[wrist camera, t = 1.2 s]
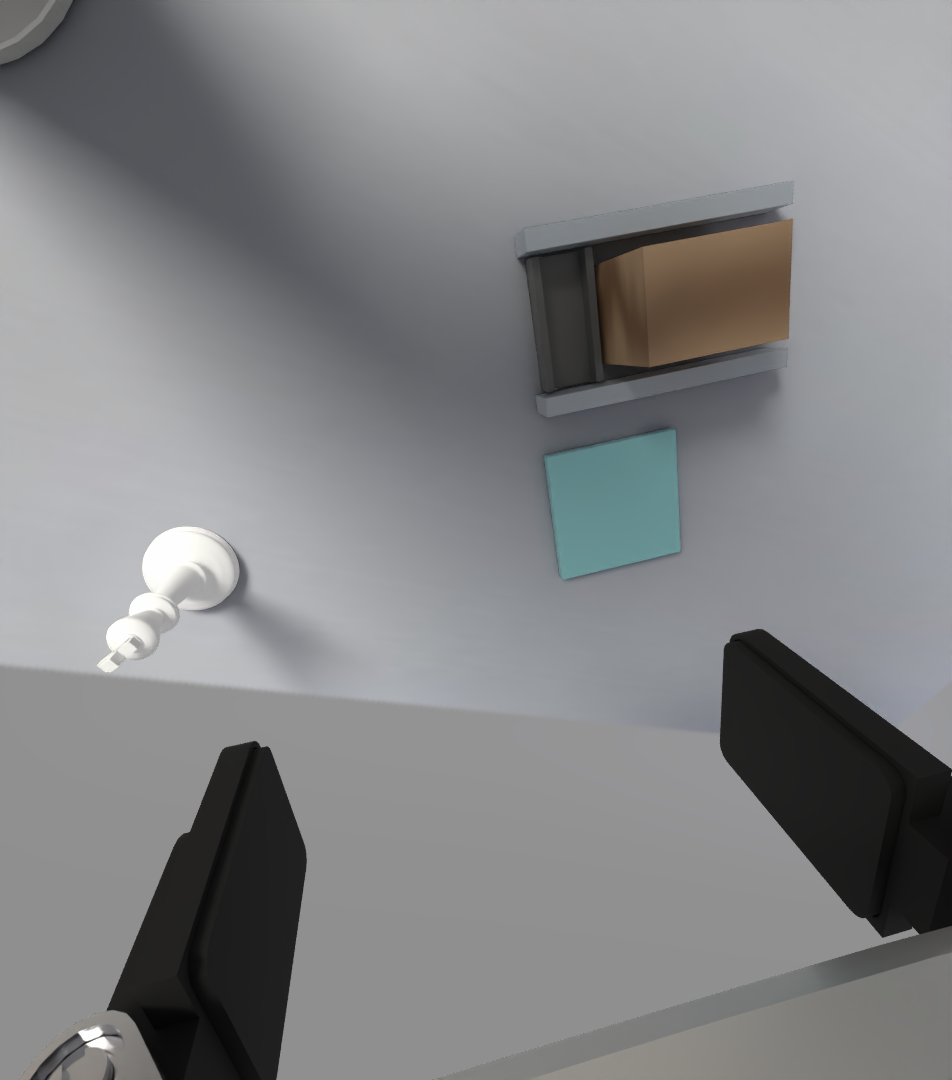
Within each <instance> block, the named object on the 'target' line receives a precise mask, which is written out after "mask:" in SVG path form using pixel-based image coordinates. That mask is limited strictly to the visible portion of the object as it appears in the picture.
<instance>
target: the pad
mask: <svg viewBox="0 0 952 1080" xmlns="http://www.w3.org/2000/svg"><path fill="white" fill-rule="evenodd" d="M544 463H545V470H546V478H547V485H548V493H549V500H550V508H551V515H552V522H553V530H554V537H555V545H556V552H557V560H558V567H559V575H560V577H561V579H562V580H565V579H569V578H573V577H577V576H581V575H585V574H590V573H594V572H598V571H602V570H606V569H610V568H614V567H619V566H623V565H627V564H631V563H635V562H639V561H643V560H647V559H652V558H656V557H660V556H664V555H668V554H672V553H676V552H680V551H681V549H680V524H679V498H678V473H677V448H676V429H673V428H667V429H663V430H658V431H654V432H649V433H645V434H640V435H636V436H631V437H626V438H622V439H617V440H613V441H608V442H604V443H599V444H594V445H590V446H585V447H581V448H576V449H572V450H567V451H563V452H558V453H553V454H549V455H544Z"/></svg>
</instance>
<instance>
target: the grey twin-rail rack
mask: <svg viewBox="0 0 952 1080" xmlns="http://www.w3.org/2000/svg"><path fill="white" fill-rule="evenodd" d="M793 186H794V181H788V182H782V183H777V184H771V185H765V186H760V187H754V188H749V189H743V190H737V191H732V192H726V193H720V194H715V195H709V196H704V197H698V198H692V199H687V200H681V201H675V202H670V203H664V204H659V205H653V206H647V207H642V208H636V209H631V210H625V211H619V212H614V213H608V214H602V215H597V216H591V217H586V218H580V219H574V220H569V221H563V222H557V223H552V224H546V225H541V226H535V227H529V228H524V229H523V230H521V231H520V232H519V233H518V234H517V235H515V236H514V240H515V247H516V254H517V258H521V257H527V256H532V255H538V254H543V253H549V252H554V251H560V250H565V249H570V248H576V247H581V246H587V245H592V244H598V243H603V242H609V241H614V240H620V239H625V238H631V237H636V236H641V235H647V234H652V233H658V232H663V231H669V230H674V229H680V228H685V227H691V226H696V225H702V224H707V223H713V222H718V221H723V220H729V219H734V218H740V217H745V216H751V215H756V214H762V213H767V212H770V211H773V210H775V209H778V208H781V207H784V206H787V205H790V204H793ZM525 265H526V273H527V280H528V288H529V296H530V304H531V311H532V319H533V327H534V334H535V342H536V350H537V358H538V365H539V373H540V381H541V388H542V391H545V392H550V393H545V394H540V395H535V396H536V403H537V411H538V413H539V414H541V415H543V416H545V417H553V416H558V415H562V414H567V413H572V412H577V411H581V410H586V409H591V408H595V407H600V406H605V405H610V404H614V403H619V402H624V401H628V400H633V399H638V398H642V397H647V396H652V395H657V394H661V393H666V392H671V391H675V390H680V389H685V388H689V387H694V386H699V385H704V384H708V383H713V382H718V381H722V380H727V379H732V378H737V377H741V376H746V375H751V374H755V373H760V372H765V371H769V370H774V369H779V368H784V367H787V351H788V348H761V349H756V350H752V351H747V352H742V353H737V354H732V355H728V356H723V357H718V358H713V359H708V360H704V361H699V362H694V363H689V364H684V365H680V366H675V367H670V368H665V369H660V370H656V371H651V372H646V373H641V374H636V375H632V376H627V377H622V378H617V379H612V380H608V381H604V378H603V366H602V355H601V343H600V332H599V320H598V308H597V297H596V285H595V274H594V262H593V251H592V247H586V248H583V249H581V250H579V251H574V252H569V253H564V254H558V255H553V256H547V257H542V258H539V256H537V257H532V258H530V259H528V260H526V261H525ZM589 381H594V382H598V383H593V384H588V385H583V386H579V387H574V388H569V389H564V390H559V391H555V388H560V387H565V386H569V385H574V384H579V383H584V382H589ZM599 381H603V382H599ZM551 391H555V392H551Z"/></svg>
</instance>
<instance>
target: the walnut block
mask: <svg viewBox="0 0 952 1080" xmlns="http://www.w3.org/2000/svg"><path fill="white" fill-rule="evenodd" d="M792 225H793V219H789V220H784V221H779V222H773V223H768V224H762V225H757V226H752V227H746V228H741V229H735V230H730V231H725V232H719V233H714V234H708V235H703V236H698V237H692V238H687V239H681V240H676V241H671V242H665V243H660V244H654V245H649V246H644V247H641V248H638V249H635V250H633V251H630V252H628V253H625V254H622V255H620V256H617V257H614V258H612V259H609V260H607V261H604V262H601V263H599V264H596V265H594V274H595V285H596V297H597V308H598V320H599V332H600V343H601V355H602V364H615V365H627V366H640V367H653V366H658V365H663V364H668V363H673V362H677V361H682V360H687V359H692V358H697V357H702V356H706V355H711V354H716V353H721V352H726V351H730V350H735V349H740V348H745V347H750V346H755V345H759V344H764V343H769V342H774V341H779V340H784V339H788V334H789V307H790V280H791V253H792Z"/></svg>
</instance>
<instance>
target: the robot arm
mask: <svg viewBox="0 0 952 1080" xmlns="http://www.w3.org/2000/svg"><path fill="white" fill-rule="evenodd" d="M72 2H73V0H0V65H1V64H4V63H7V62H10V61H13V60H16V59H19V58H21V57H22V56H24V55H25V54H27V53H28V52H30V51H31V50H33V49H34V48H36V47H37V46H39V45H40V44H42V43H43V42H44V41H45V40H46V39H47V38H48V37H49V35H50V34H51V33H52V32H53V31H54V30H55V29H56V28H57V26H58V25H59V24H60V23H61V22H62V21H63V19H64V17H65V15H66V13H67V11H68V9H69V7H70V6H71V4H72ZM720 747H721V751H722V753H723V756H724V758H725V759H726V761H727V762H728V763H729V765H730V766H731V767H732V768H733V769H734V770H735V772H736V773H737V774H738V775H739V776H740V777H741V779H742V780H743V781H744V783H745V784H746V785H747V786H748V787H749V789H750V790H751V791H752V792H753V793H754V795H755V796H756V797H757V798H758V800H759V801H760V802H761V803H762V804H763V806H764V807H765V808H766V809H767V810H768V812H769V813H770V814H771V815H772V816H773V818H774V819H775V820H776V821H777V822H778V824H779V825H780V826H781V827H782V828H783V830H784V831H785V832H786V833H787V834H788V835H789V837H790V838H791V839H792V840H793V841H794V843H795V844H796V845H797V846H798V848H799V849H800V850H801V851H802V852H803V854H804V855H805V856H806V857H807V858H808V860H809V861H810V862H811V863H812V864H813V865H814V867H815V868H816V869H817V871H818V872H819V873H820V874H821V875H822V877H823V878H824V879H825V880H826V881H827V883H828V884H829V885H830V886H831V887H832V889H833V890H834V891H835V892H836V893H837V895H838V896H839V897H840V898H841V899H842V901H843V902H844V903H845V904H846V905H847V907H849V909H850V910H851V911H852V912H853V913H854V914H855V915H857V916H858V917H860V918H866V919H867V920H868V921H869V922H870V924H871V925H872V926H873V927H874V928H875V929H876V931H877V932H878V933H879V934H880V935H881V936H882V938H883V937H887V936H890V935H893V934H897V933H900V932H903V931H906V930H910V929H912V927H913V928H914V929H915V930H916V931H917V932H918V933H919V934H920V935H916V936H912V937H909V938H905V939H901V940H898V941H894V942H891V943H887V944H883V945H879V946H876V947H873V948H869V949H866V950H862V951H859V952H855V953H852V954H849V955H845V956H842V957H838V958H835V959H832V960H828V961H825V962H822V963H818V964H815V965H811V966H808V967H805V968H801V969H798V970H794V971H791V972H787V973H784V974H781V975H777V976H774V977H770V978H767V979H764V980H761V981H757V982H754V983H750V984H747V985H743V986H740V987H736V988H733V989H730V990H727V991H723V992H720V993H716V994H713V995H710V996H707V997H703V998H700V999H696V1000H693V1001H690V1002H686V1003H683V1004H680V1005H677V1006H673V1007H670V1008H666V1009H663V1010H660V1011H656V1012H653V1013H650V1014H646V1015H643V1016H640V1017H636V1018H633V1019H630V1020H627V1021H623V1022H620V1023H617V1024H613V1025H610V1026H607V1027H603V1028H600V1029H597V1030H593V1031H590V1032H587V1033H583V1034H580V1035H577V1036H574V1037H570V1038H567V1039H564V1040H560V1041H557V1042H554V1043H550V1044H547V1045H544V1046H541V1047H537V1048H534V1049H531V1050H528V1051H525V1052H521V1053H518V1054H515V1055H512V1056H508V1057H505V1058H502V1059H499V1060H496V1061H492V1062H489V1063H485V1064H482V1065H479V1066H476V1067H473V1068H469V1069H466V1070H463V1071H460V1072H456V1073H453V1074H450V1075H446V1076H443V1077H440V1078H437V1079H433V1080H952V776H951V772H952V769H951V768H949V767H948V766H946V765H945V764H944V763H942V762H941V761H940V760H939V759H937V758H936V757H934V756H933V755H932V754H930V753H929V752H928V751H926V750H925V749H923V748H922V747H921V746H920V745H918V744H917V743H916V742H914V741H913V740H911V739H910V738H909V737H908V736H906V735H905V734H904V733H902V732H901V731H899V730H898V729H897V728H896V727H894V726H893V725H891V724H890V723H889V722H887V721H886V720H885V719H883V718H882V717H881V716H879V715H878V714H877V713H875V712H874V711H873V710H871V709H870V708H869V707H867V706H866V705H865V704H863V703H862V702H861V701H859V700H858V699H857V698H855V697H854V696H852V695H851V694H850V693H848V692H847V691H846V690H844V689H843V688H842V687H840V686H839V685H838V684H836V683H835V682H834V681H832V680H831V679H830V678H828V677H827V676H826V675H824V674H823V673H822V672H820V671H819V670H818V669H816V668H815V667H814V666H812V665H811V664H809V663H808V662H807V661H805V660H804V659H803V658H801V657H800V656H799V655H797V654H796V653H795V652H793V651H792V650H791V649H789V648H788V647H787V646H785V645H784V644H783V643H781V642H780V641H779V640H777V639H776V638H775V637H773V636H772V635H770V634H769V633H768V632H766V631H765V630H763V629H756V630H752V631H747V632H743V633H738V634H735V635H733V636H732V637H731V639H730V643H727V644H726V645H725V647H724V660H723V683H722V706H721V729H720ZM306 863H307V858H306V849H305V845H304V842H303V839H302V837H301V833H300V831H299V828H298V825H297V822H296V819H295V817H294V814H293V811H292V808H291V805H290V803H289V800H288V797H287V794H286V791H285V789H284V786H283V783H282V780H281V777H280V775H279V772H278V769H277V766H276V764H275V761H274V758H273V755H272V753H271V750H270V748H269V747H262V748H261V747H260V745H259V743H258V742H256V741H253V742H249V743H244V744H240V745H235V746H230V747H226V748H224V749H223V750H222V752H221V754H220V756H219V759H218V762H217V764H216V767H215V769H214V772H213V774H212V777H211V779H210V782H209V785H208V787H207V790H206V792H205V795H204V797H203V800H202V802H201V805H200V808H199V810H198V813H197V815H196V818H195V820H194V823H193V826H192V828H191V831H190V832H189V833H184V834H183V835H182V836H181V837H179V838H178V840H177V842H176V844H175V846H174V847H173V850H172V852H171V855H170V857H169V860H168V862H167V864H166V867H165V869H164V872H163V874H162V877H161V879H160V882H159V884H158V887H157V889H156V891H155V894H154V896H153V899H152V901H151V903H150V906H149V908H148V911H147V913H146V916H145V918H144V921H143V923H142V925H141V928H140V930H139V933H138V935H137V938H136V940H135V942H134V945H133V947H132V950H131V952H130V955H129V957H128V960H127V962H126V964H125V967H124V969H123V972H122V974H121V977H120V979H119V982H118V984H117V986H116V989H115V991H114V994H113V996H112V999H111V1001H110V1003H109V1006H108V1008H107V1011H105V1012H99V1013H95V1014H93V1015H91V1016H89V1017H87V1018H85V1019H82V1020H80V1021H78V1022H76V1023H75V1024H73V1025H72V1026H71V1027H69V1028H68V1029H66V1030H65V1031H64V1032H62V1033H61V1034H60V1035H58V1036H57V1037H56V1038H54V1039H53V1041H51V1042H50V1043H49V1044H48V1045H47V1046H46V1047H45V1048H44V1049H43V1050H42V1051H41V1052H40V1053H39V1054H38V1055H37V1056H36V1057H35V1059H34V1060H33V1061H32V1062H31V1064H30V1065H29V1066H28V1068H27V1069H26V1070H25V1071H24V1073H23V1074H22V1075H21V1077H20V1078H19V1079H18V1080H276V1078H277V1072H278V1064H279V1058H280V1051H281V1043H282V1036H283V1029H284V1022H285V1015H286V1008H287V1001H288V993H289V986H290V979H291V972H292V965H293V958H294V950H295V944H296V937H297V930H298V922H299V915H300V908H301V901H302V894H303V887H304V880H305V872H306Z"/></svg>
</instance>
